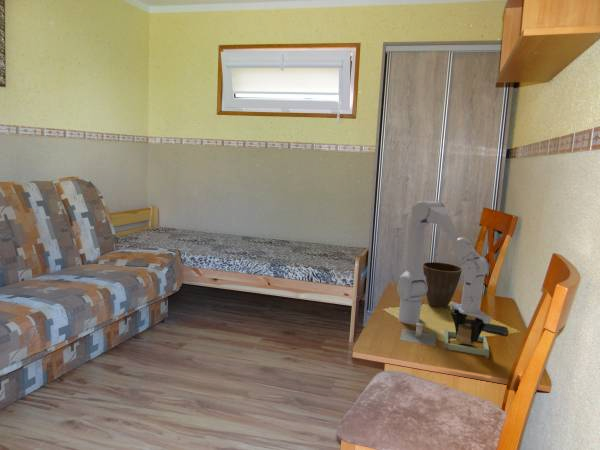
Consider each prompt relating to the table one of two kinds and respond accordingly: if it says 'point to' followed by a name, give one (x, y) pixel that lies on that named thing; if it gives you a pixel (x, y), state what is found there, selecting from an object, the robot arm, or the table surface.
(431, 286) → the plant pot
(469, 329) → the wood ring
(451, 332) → the sage tray
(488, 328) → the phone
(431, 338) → the stake board
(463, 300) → the robot arm
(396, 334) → the table surface
